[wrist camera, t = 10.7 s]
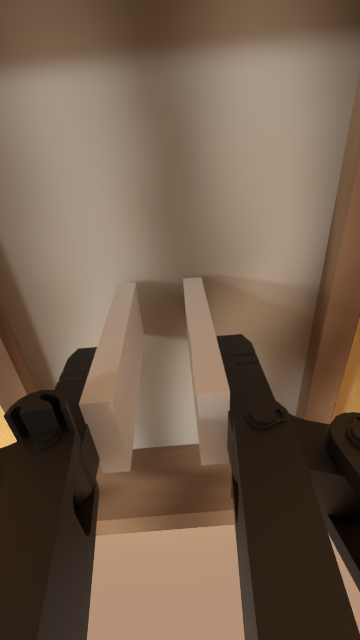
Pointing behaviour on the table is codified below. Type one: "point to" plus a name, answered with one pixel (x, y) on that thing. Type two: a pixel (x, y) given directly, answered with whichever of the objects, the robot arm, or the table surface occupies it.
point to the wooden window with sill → (179, 211)
